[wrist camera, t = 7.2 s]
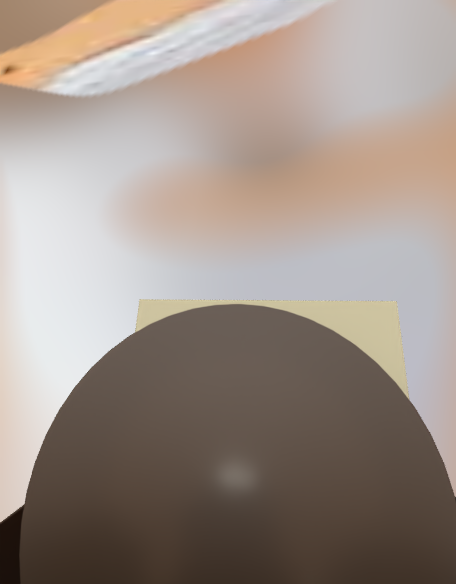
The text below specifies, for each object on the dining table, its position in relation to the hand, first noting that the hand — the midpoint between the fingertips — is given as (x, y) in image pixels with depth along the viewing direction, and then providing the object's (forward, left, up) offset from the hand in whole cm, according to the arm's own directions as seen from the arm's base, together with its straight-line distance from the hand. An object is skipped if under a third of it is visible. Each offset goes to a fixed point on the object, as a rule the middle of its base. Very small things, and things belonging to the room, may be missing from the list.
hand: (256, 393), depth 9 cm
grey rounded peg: (-1, -1, -7) cm, 7 cm away
